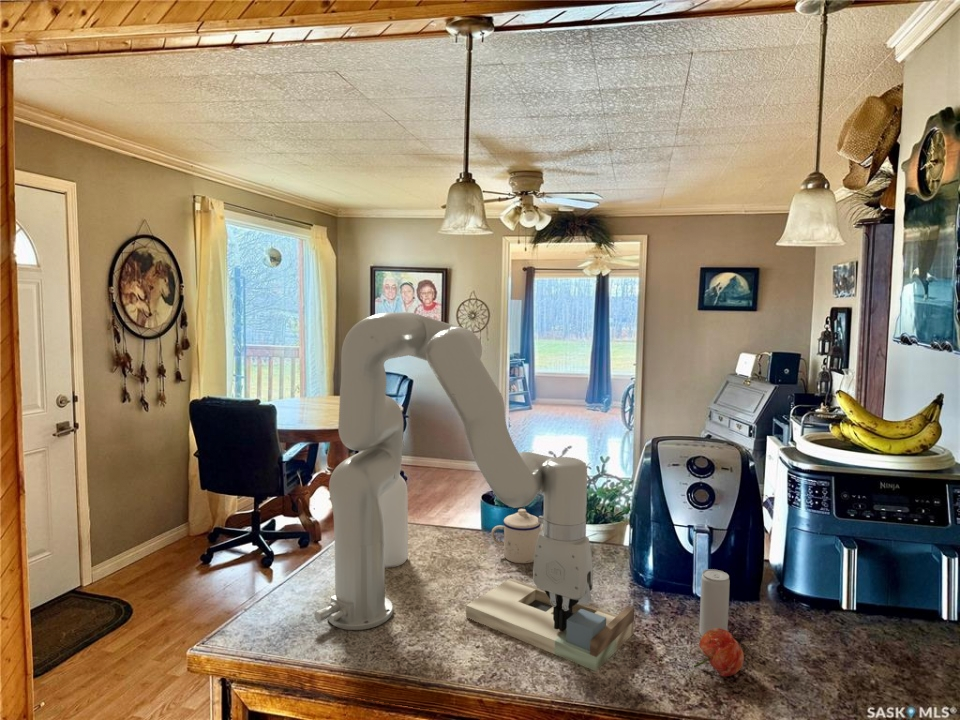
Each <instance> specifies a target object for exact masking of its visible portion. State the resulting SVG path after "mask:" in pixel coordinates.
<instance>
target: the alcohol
mask: <svg viewBox="0 0 960 720" xmlns="http://www.w3.org/2000/svg"><path fill="white" fill-rule="evenodd" d="M408 490H409V489H408V485H407V482H406V480H405V479H404V478H403V476H402V475H401V474H400V475H399V477H398V480H397V481H396V483H395V484H394V485H393V486H392V487H391V488H390V489H388V490H387V491H386V492H384V493H383V494H382V495H381V496H380V507H381V510H382V514H383V519H384V553H385V568H395V567H398V566H401V565H403V564H404V563H406V561H407V559H408V557H409V544H408V543H409V536H408V535H409V534H408V533H409V529H408V528H409V525H408V523H409V521H408V520H409V519H408V518H409V517H408V516H409V515H408V514H409V511H408V509H409V507H408V500H409V497H408V496H409V495H408V494H409V493H408Z"/></svg>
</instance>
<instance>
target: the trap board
mask: <svg viewBox="0 0 960 720" xmlns="http://www.w3.org/2000/svg"><path fill="white" fill-rule="evenodd" d="M465 607H466V608H465V613H466V614H465V618H466V617H467V618H466V619H469V618H470V619H469V620H471V619H472V620H471V621H473V620H475V621H474V622H475V623H478V622H479V624H481V625H483V624H484V626H485V625H486V627H488V626H489V627H488V628H490V629H493V630H495V631H497V630H498V632H500V633H503V634H505V635H507V636H509V637H512V638H515V639H517V640H520V641H522V642H524V643H527V644H529V645H532V646H534V647H536V648H538V649H542V650H544V651H546V652H549V653H551V654H554V655H555V656H557V657H561V658H563V659H565V660H567V661H570V662H572V663H575V664H578V665H580V666H582V667H584V668H587V669H589V670H592V671H593V672H597V671H598V670H599V669H600V668H601V667H602V666H603V665H604V664H605V663H606V662H607V661H608V660H609V659H610V658H611V657H612V656H613V655H614V654H615V653H616V652H617V651H618V650H619V649H620V647H622V646H623V645H624V644H625V643H626V642H627V641H628V640H629V639H630V637H632V635H634V631H635V630H634V628H635V607H634V606H631V605H627V606H626V607H625V608H624V609H622V611H621V612H620V613H619V614H616V613H613V612H610V611H607V610H604V609H602V608H598V607H595V606H592V605H590V604H587V605H584V604H575V605H574V606H573V607H572V615H574V614H575V613H576V612H577V611H579V610H580V609H583V610H586V611H589V612H592V613H595V614H597V615H600V616H603V617H606V627H604V628H603V629H602V630H601V631H600V632H599V633H598V634H597V635H596V636H595V637H593V638H592V639H591V640H590V651H588V650H585V649H583V648H581V647H578V646H576V645H573V644H571V643H568V642H566V635H567V628H566V629H565V630H564V631H563V632H562V631H560V630H559V629H555V628H554V620H553V606H552V605H551V602H550V599H549V597H548V596H547V594H546V592H544V591H542V590H540V589H539V588H537V586H536V585H532V584H528V583H525V582H523V581H519V580H517V579H514V578H511V577H510V578H509V579H506V580H505V581H503V582H502V583H500V584H499V585H497V586H495V587H494V588H491V590H489V591H486V592H485V593H484V594H482V595H480V596H479V597H478V598H475V599H474V600H472V601H471V602H469V603H467V604H466V605H465Z"/></svg>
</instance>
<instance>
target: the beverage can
mask: <svg viewBox="0 0 960 720" xmlns="http://www.w3.org/2000/svg"><path fill="white" fill-rule="evenodd" d="M701 573H702V575H701V582H700V603H699V606H700V607H699V608H700V609H699V634H700V636H701V637H702V636H703V635H704V634H705V633H706V632H707V631H709V630H711V629H715V628H720V629H724V630H726V631H728V627H729V626H728V624H729V607H730V605H729V603H730V584H731V583H730V581H731V580H730V575H729V574H728V573H727V572H724V571H723V570H718V569H715V568H714V569H713V568H712V569H711V568H710V569H709V568H708V569H705V570H703V571H702V572H701Z"/></svg>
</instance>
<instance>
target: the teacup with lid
mask: <svg viewBox="0 0 960 720" xmlns="http://www.w3.org/2000/svg"><path fill="white" fill-rule="evenodd" d="M538 517H539V516H538ZM538 517H537V516H536V515H533V514H530V513H529V512H527V510H526V509H525V508H519V509H518V510H517V512H515V513H512V514H509V515H506V517H504V519H503V521H502V524H503V525H496V526H494V527H493V528H492V529H491V539H492V541H493V542H494V544H495V545H497V546H500V547H503V556H504V558H505V559H506V560H508V561H509V562H511V563H515V564H530V563H531V564H532V563H534V556H535V549H536V544H537V539H538V535H539V532H540V525H541V523H539V522H538ZM497 530H503V541H499V540H498V539H497V538H496V534H495V532H496V531H497Z"/></svg>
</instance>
